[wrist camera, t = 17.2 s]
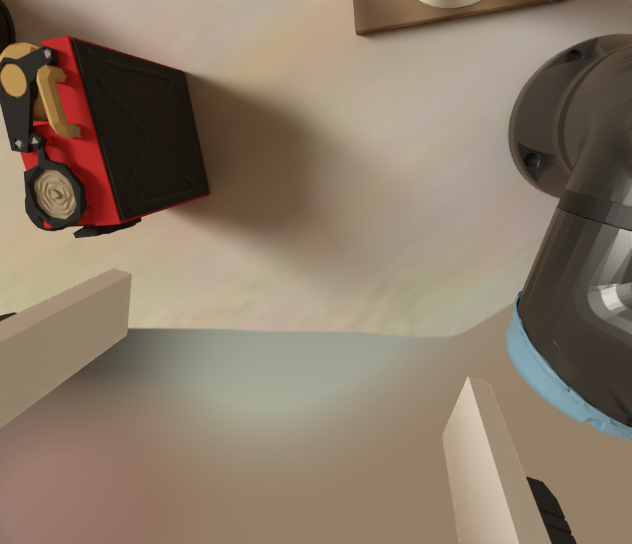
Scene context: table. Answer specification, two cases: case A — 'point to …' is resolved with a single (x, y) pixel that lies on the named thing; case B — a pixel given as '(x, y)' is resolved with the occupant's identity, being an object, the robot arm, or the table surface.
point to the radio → (98, 135)
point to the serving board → (424, 11)
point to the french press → (6, 28)
